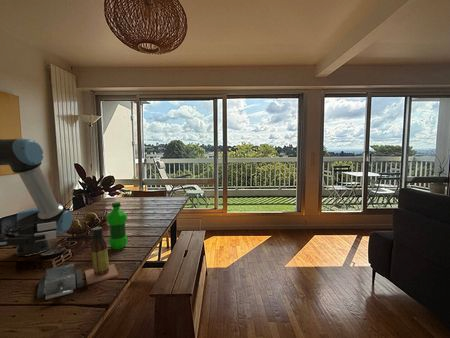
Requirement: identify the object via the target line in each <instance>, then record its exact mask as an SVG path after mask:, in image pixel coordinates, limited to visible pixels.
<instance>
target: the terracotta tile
mask: <svg viewBox="0 0 450 338" xmlns="http://www.w3.org/2000/svg"><path fill="white" fill-rule="evenodd" d="M115 265H116V264H114V263H111V264H109V271H108V272H107V273H105V274H102V275H95V274H94V270H93V268H90V269H87V270H84V274H85V280H86V284H87V285H91V284H94V283H95V284H96V283H98V282H102V281H105V280H106V281H107V280H110V279H111V280H112V279H115V278H117V277H119V273H118V271H117V268H116V266H115Z"/></svg>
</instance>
